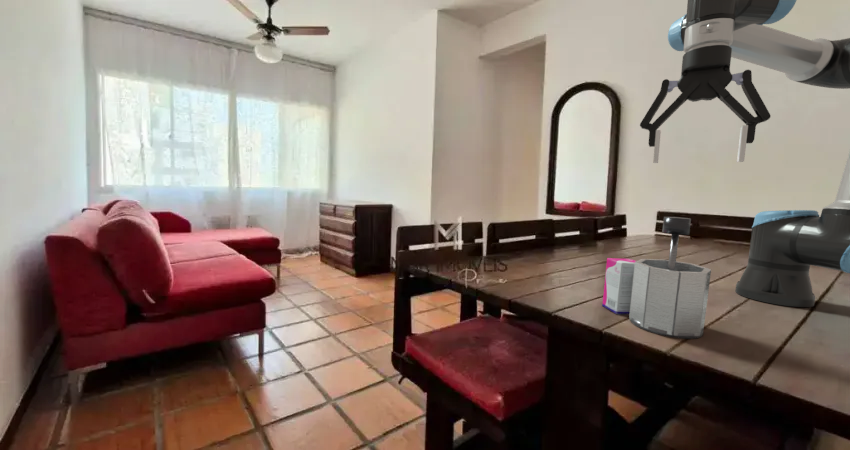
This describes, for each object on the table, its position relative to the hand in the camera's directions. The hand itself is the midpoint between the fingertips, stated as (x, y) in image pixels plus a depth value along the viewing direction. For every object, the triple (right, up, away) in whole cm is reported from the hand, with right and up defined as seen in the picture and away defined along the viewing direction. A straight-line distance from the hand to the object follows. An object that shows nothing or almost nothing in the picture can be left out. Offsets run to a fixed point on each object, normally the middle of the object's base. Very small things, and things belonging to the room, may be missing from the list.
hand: (695, 162), depth 73 cm
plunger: (-5, -31, +1) cm, 32 cm away
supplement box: (-10, -32, +10) cm, 35 cm away
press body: (-5, -33, +3) cm, 33 cm away
